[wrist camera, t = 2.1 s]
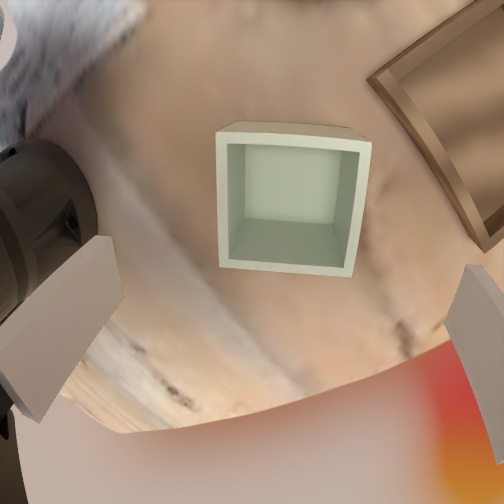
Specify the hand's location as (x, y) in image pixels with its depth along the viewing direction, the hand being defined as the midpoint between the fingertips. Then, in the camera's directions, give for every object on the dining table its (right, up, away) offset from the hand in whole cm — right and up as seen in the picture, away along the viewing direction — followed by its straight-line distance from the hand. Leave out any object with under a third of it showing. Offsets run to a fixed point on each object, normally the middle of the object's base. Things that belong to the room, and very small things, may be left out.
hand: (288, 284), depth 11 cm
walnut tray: (+18, +12, +7) cm, 23 cm away
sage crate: (+2, +7, +12) cm, 14 cm away
